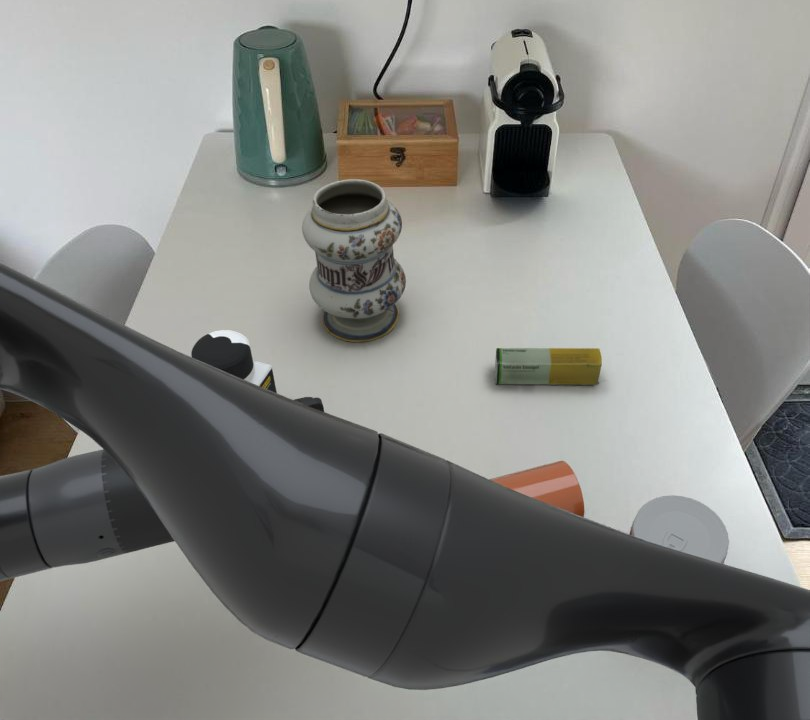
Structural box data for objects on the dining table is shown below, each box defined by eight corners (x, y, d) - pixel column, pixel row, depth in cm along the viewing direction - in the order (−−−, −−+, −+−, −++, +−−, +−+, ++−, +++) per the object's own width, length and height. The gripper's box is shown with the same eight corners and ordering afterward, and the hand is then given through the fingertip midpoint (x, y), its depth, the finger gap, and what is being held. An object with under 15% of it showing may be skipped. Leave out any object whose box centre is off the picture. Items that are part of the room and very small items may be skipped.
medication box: (494, 386, 95) (495, 364, 92) (494, 369, 97) (495, 346, 94) (598, 386, 94) (603, 363, 91) (596, 368, 96) (600, 345, 93)
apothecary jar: (365, 277, 111) (356, 159, 99) (426, 317, 104) (424, 196, 92) (295, 317, 105) (276, 196, 93) (354, 362, 99) (342, 238, 86)
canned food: (605, 628, 72) (624, 557, 65) (622, 556, 77) (641, 483, 70) (694, 656, 70) (724, 587, 62) (705, 580, 75) (734, 508, 68)
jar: (552, 487, 78) (559, 444, 73) (581, 539, 73) (589, 496, 69) (433, 519, 75) (433, 476, 71) (455, 574, 71) (456, 532, 67)
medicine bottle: (251, 454, 88) (232, 374, 80) (194, 438, 90) (170, 358, 82) (281, 409, 93) (266, 330, 85) (226, 395, 95) (207, 316, 87)
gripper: (98, 553, 50) (355, 489, 53) (95, 396, 60) (310, 350, 63) (129, 616, 55) (362, 554, 58) (121, 462, 65) (319, 416, 68)
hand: (335, 448), depth 60 cm, fingers open, 8 cm apart
